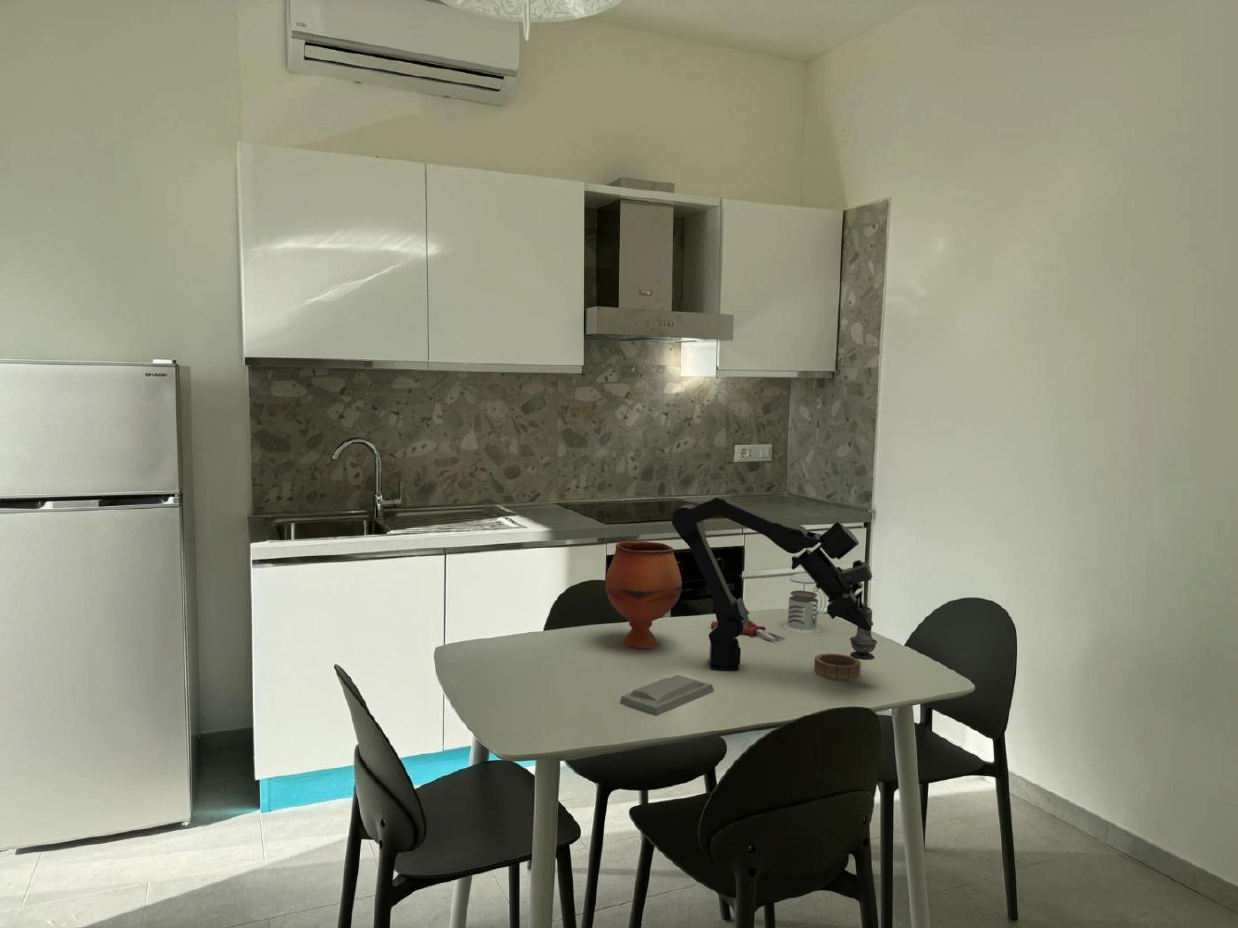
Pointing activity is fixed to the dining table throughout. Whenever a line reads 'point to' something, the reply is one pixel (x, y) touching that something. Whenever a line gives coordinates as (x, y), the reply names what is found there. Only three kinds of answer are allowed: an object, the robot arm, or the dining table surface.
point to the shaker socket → (837, 666)
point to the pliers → (755, 631)
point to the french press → (800, 602)
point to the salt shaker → (863, 639)
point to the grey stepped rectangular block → (666, 694)
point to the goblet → (643, 587)
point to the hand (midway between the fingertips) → (870, 627)
